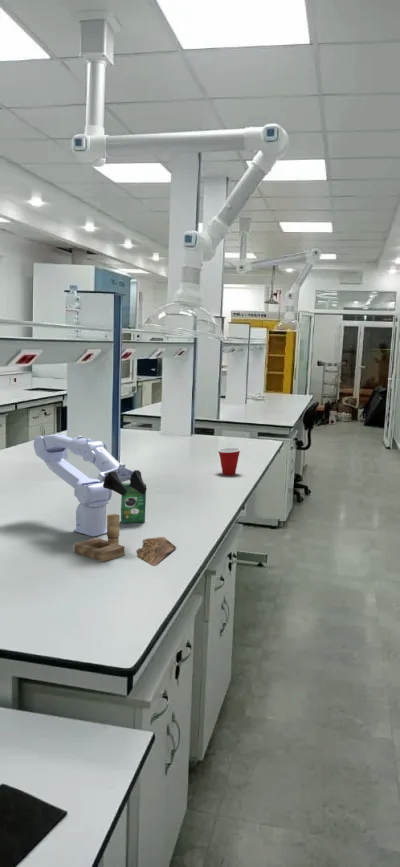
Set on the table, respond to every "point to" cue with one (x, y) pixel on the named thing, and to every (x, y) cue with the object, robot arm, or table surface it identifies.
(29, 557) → the table surface
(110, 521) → the peg
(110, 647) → the table surface
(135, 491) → the coffee box
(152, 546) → the wooden fragment
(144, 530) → the table surface
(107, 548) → the board
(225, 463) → the plastic cup
